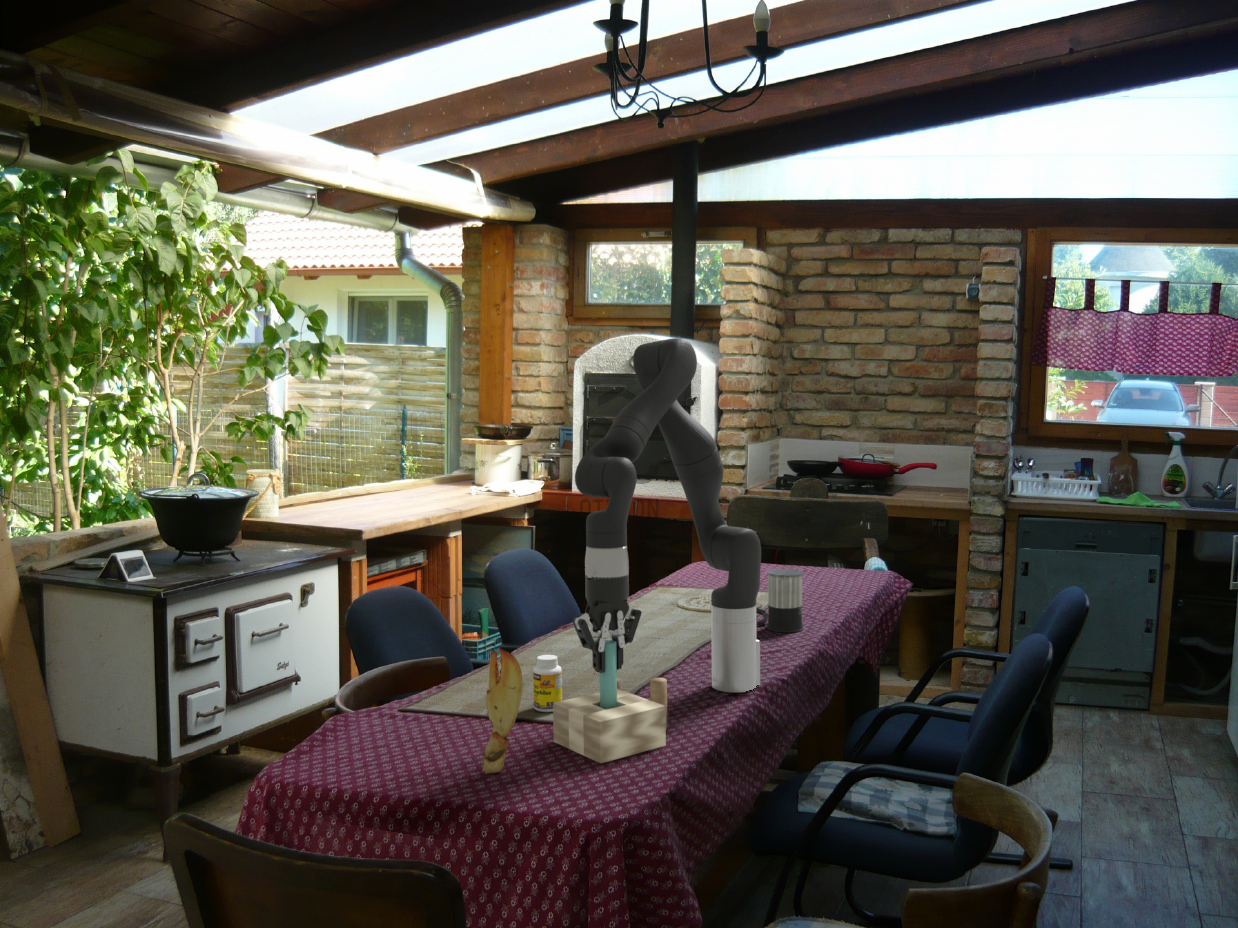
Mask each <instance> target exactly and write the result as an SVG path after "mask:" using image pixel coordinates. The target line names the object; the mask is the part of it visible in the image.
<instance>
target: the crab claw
mask: <svg viewBox="0 0 1238 928" xmlns="http://www.w3.org/2000/svg"><path fill="white" fill-rule="evenodd" d="M498 653H500V657H501V658H500V660H499V662H500V664H499V663H498ZM499 667H500V668H501V669H500V670H499ZM488 672H489V675H488V690H486V696H485V697H486V698H485V699H486V709H487V712H486V715H487V716H488V717H489V718H488V720H489V721H490V722H491V723H492V726H493V729H491V730H490V738H489V741H488V743H487V745H486V746H484V747H483V748H484V751H483V753H482V760H483V764H482V768H481V770H482V772H483V773H484V775H487V774H496V773H500V772H502V771H503V769H504V766H505V761H506V755H507V752H508V748H507V747H508V745H509V743H510V741H509V738H508V737H509V735H510V733H511V732H512V729H513V728H514V725H515V723H516V720H517V717H518V712H519V707H520V704H521V700H522V693H523V672H522V669H521V666H520V663H519V662H518V660H517V658H516V657H515V656H514V655H513V654H512V653H511V652H509V650H506V649H503V648H498V649H497V650H494V651H492V653H491V655H490V660H489V671H488Z"/></svg>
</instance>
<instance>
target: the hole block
mask: <svg viewBox="0 0 1238 928" xmlns="http://www.w3.org/2000/svg"><path fill="white" fill-rule="evenodd" d="M552 713H553V714H552V715H553V716H552V717H553V718H552V719H553V722H552V723H553V725H552V726H553V743H555V744H558V745H560V746H562V747H564V748H566V749H569V750H571V751H573V752H574V753H577V754H579V755H582V756H584V757H586V758H588V759H590V760H592V761H595V762H597V763H599V764H604V763H607V762H611V761H614V760H618V759H621V758H625V757H630V756H633V755H637V754H641V753H643V752H647V751H652V750H656V749H658V748H659V749H660V748H662V747H666V745H667V740H666V739H667V735H666V731H667V730H666V711H665V706H664V705H661V704H659V703H656V702H653V701H650V699H647V698H644V697H641V696H639V695H636V694H634V693H631V692H627V691H624V690H622V689H621V690H620V689H617V707H615V708H611V709H607V710H606V709H603V708H601V707H600V691H599V692H595V693H590V694H586V695H581V696H577V697H572V698H568V699H564V700H563V699H562V701H559V702H554V703H553V712H552Z"/></svg>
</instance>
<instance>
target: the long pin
mask: <svg viewBox="0 0 1238 928" xmlns="http://www.w3.org/2000/svg"><path fill="white" fill-rule="evenodd" d="M604 652H605V672H604V673H599V672H598V674H599V675H598V676H599V692H600V707H601V708H603V709H606V710H607V709H611V708H615V707H617V678H618V677H617V676H618V672H617V671H618V670H617V654H616V641H613V640H611V639H605V646H604Z"/></svg>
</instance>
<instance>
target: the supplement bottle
mask: <svg viewBox="0 0 1238 928" xmlns="http://www.w3.org/2000/svg"><path fill="white" fill-rule="evenodd" d="M558 659H559V658H558V656H557V655H553V654H542V655H538V656H537V657H536V666H534V667H533V669H532V673H533V675H532V677H533V678H532V679H533V681H532V683H533V684H532V685H533V687H532V689H533V708H534V710H536V711H537V712H540V713H541V712H542V713H553V703H554V702H559V701H563V670H562V667H561V666H560V665H559V661H558Z"/></svg>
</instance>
